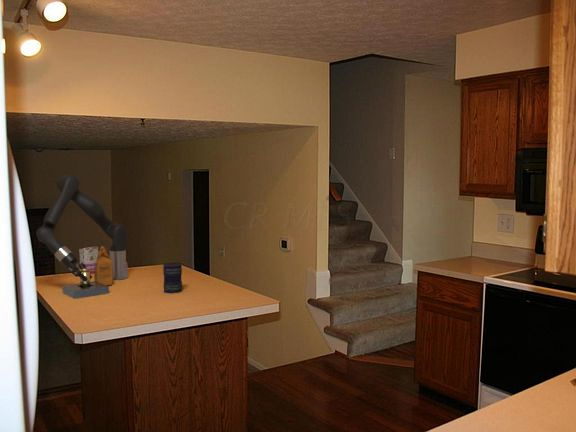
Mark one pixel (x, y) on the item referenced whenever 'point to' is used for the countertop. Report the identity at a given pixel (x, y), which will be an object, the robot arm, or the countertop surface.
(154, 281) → the countertop surface
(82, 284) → the brass mushroom peg
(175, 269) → the storage jar
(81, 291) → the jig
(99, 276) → the coffee package
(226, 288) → the countertop surface
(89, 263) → the candy bar box
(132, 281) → the countertop surface
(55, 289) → the countertop surface
